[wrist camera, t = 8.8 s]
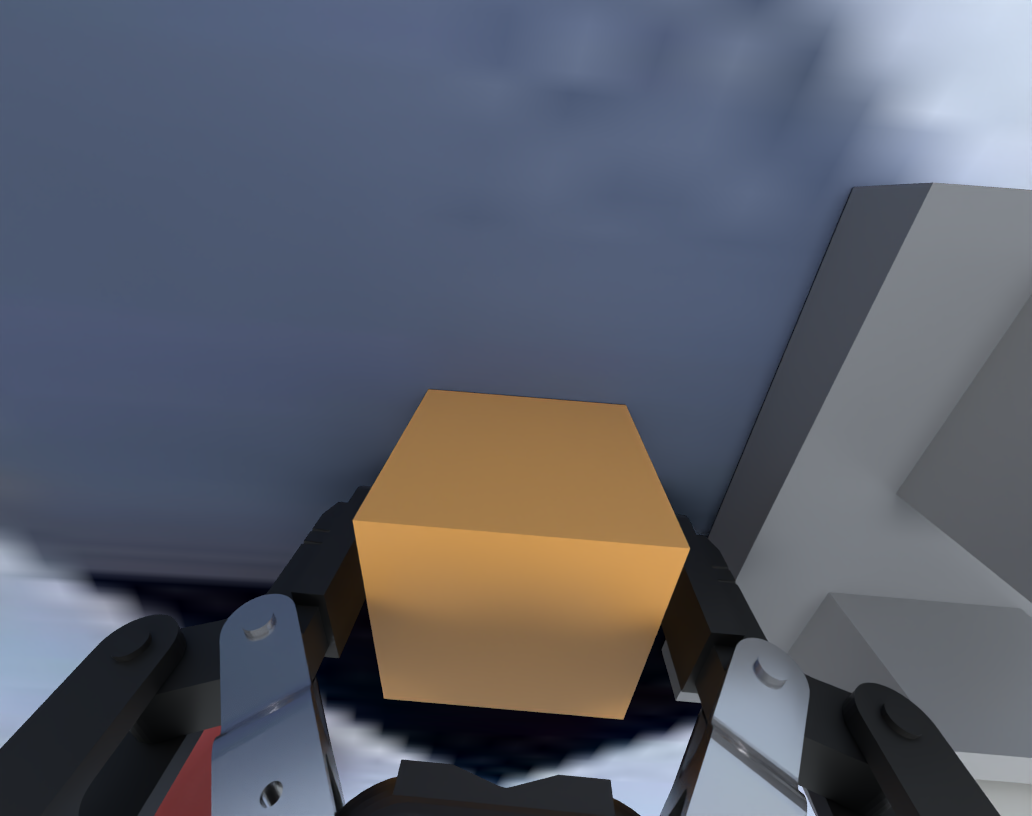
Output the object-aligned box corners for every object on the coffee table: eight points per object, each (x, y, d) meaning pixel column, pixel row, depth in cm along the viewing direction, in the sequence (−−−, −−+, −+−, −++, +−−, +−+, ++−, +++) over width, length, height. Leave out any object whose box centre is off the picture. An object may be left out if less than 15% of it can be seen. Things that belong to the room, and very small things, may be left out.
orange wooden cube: (428, 389, 12) (352, 520, 7) (625, 405, 12) (690, 548, 7) (434, 533, 15) (384, 698, 10) (593, 546, 14) (623, 719, 10)
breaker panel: (853, 187, 9) (1331, 161, 4) (1386, 226, 9) (2711, 261, 3) (661, 649, 17) (717, 847, 12) (931, 672, 17) (1108, 882, 12)
